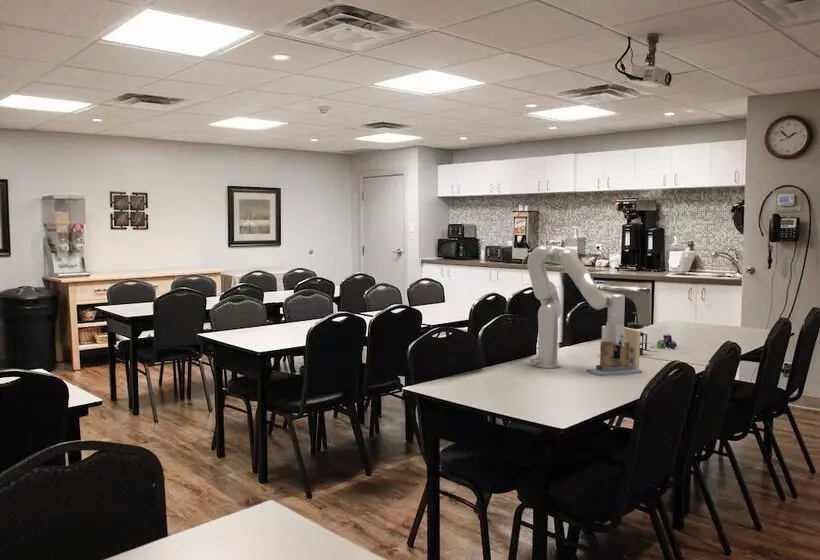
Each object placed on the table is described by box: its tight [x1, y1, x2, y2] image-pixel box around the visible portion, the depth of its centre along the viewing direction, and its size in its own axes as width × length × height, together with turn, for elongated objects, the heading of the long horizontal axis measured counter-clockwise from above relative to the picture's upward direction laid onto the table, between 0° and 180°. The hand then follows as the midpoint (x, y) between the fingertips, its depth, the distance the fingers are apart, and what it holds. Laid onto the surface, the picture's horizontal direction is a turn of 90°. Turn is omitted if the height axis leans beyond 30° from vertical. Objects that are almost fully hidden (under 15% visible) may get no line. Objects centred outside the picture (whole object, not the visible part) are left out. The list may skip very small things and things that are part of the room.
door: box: [599, 341, 630, 367], centre depth 313 cm, size 15×3×12 cm, turn 108°
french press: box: [626, 311, 648, 357], centre depth 359 cm, size 12×9×23 cm
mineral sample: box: [657, 333, 678, 350], centre depth 381 cm, size 35×35×9 cm
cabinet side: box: [585, 326, 643, 377], centre depth 318 cm, size 24×20×20 cm
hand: (614, 357), depth 313 cm, fingers closed on door, 3 cm apart
